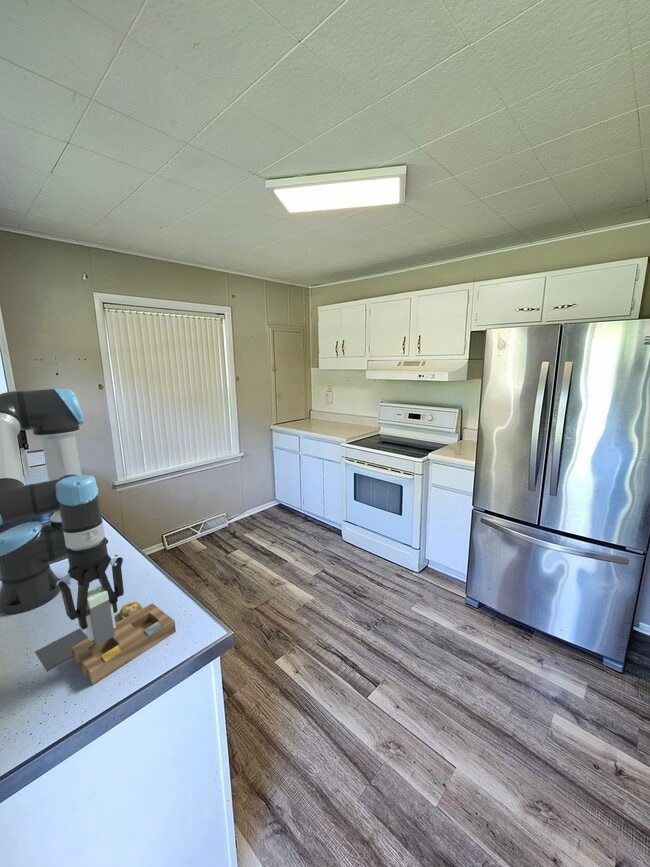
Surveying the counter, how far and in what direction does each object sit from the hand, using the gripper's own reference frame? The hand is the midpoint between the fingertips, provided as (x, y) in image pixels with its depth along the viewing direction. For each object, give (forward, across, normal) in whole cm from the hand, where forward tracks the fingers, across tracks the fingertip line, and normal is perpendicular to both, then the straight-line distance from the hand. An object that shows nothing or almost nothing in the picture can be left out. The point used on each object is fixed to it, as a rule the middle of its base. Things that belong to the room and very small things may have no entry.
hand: (101, 631), depth 85 cm
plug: (+2, 0, 0) cm, 2 cm away
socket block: (+8, +5, 0) cm, 10 cm away
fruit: (+9, +10, +10) cm, 17 cm away
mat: (+8, -5, +12) cm, 15 cm away
